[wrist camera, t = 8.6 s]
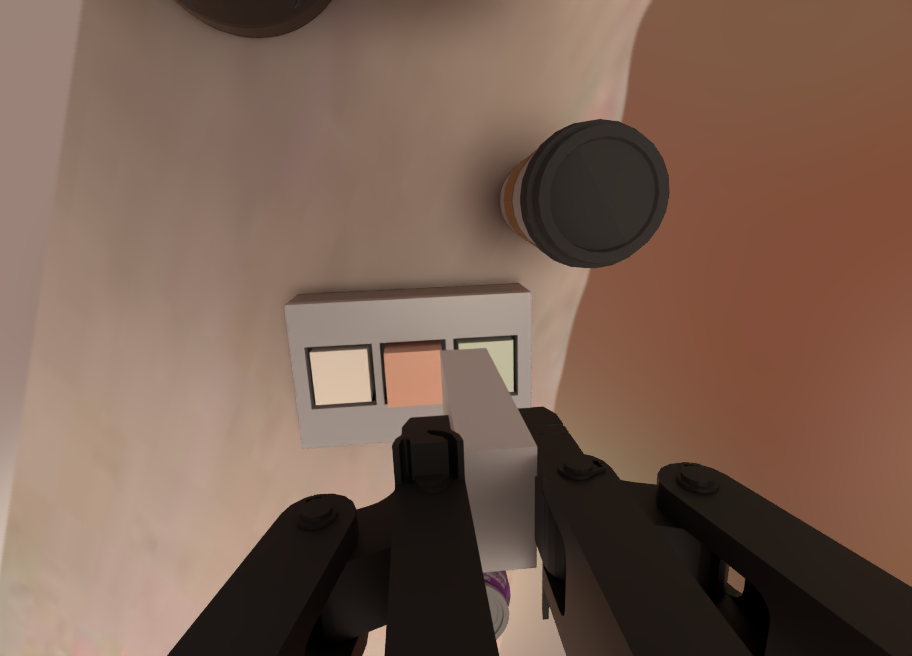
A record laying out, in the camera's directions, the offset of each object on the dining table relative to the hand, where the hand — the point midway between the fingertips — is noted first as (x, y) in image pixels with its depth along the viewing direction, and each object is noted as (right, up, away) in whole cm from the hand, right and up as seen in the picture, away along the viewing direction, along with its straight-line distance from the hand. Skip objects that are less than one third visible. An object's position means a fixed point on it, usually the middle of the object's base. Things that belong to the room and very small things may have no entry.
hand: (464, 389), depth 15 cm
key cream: (-10, -1, +25) cm, 27 cm away
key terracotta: (-4, -1, +24) cm, 24 cm away
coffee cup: (+6, +13, +25) cm, 29 cm away
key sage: (+2, -1, +26) cm, 26 cm away
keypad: (-4, 0, +27) cm, 27 cm away
